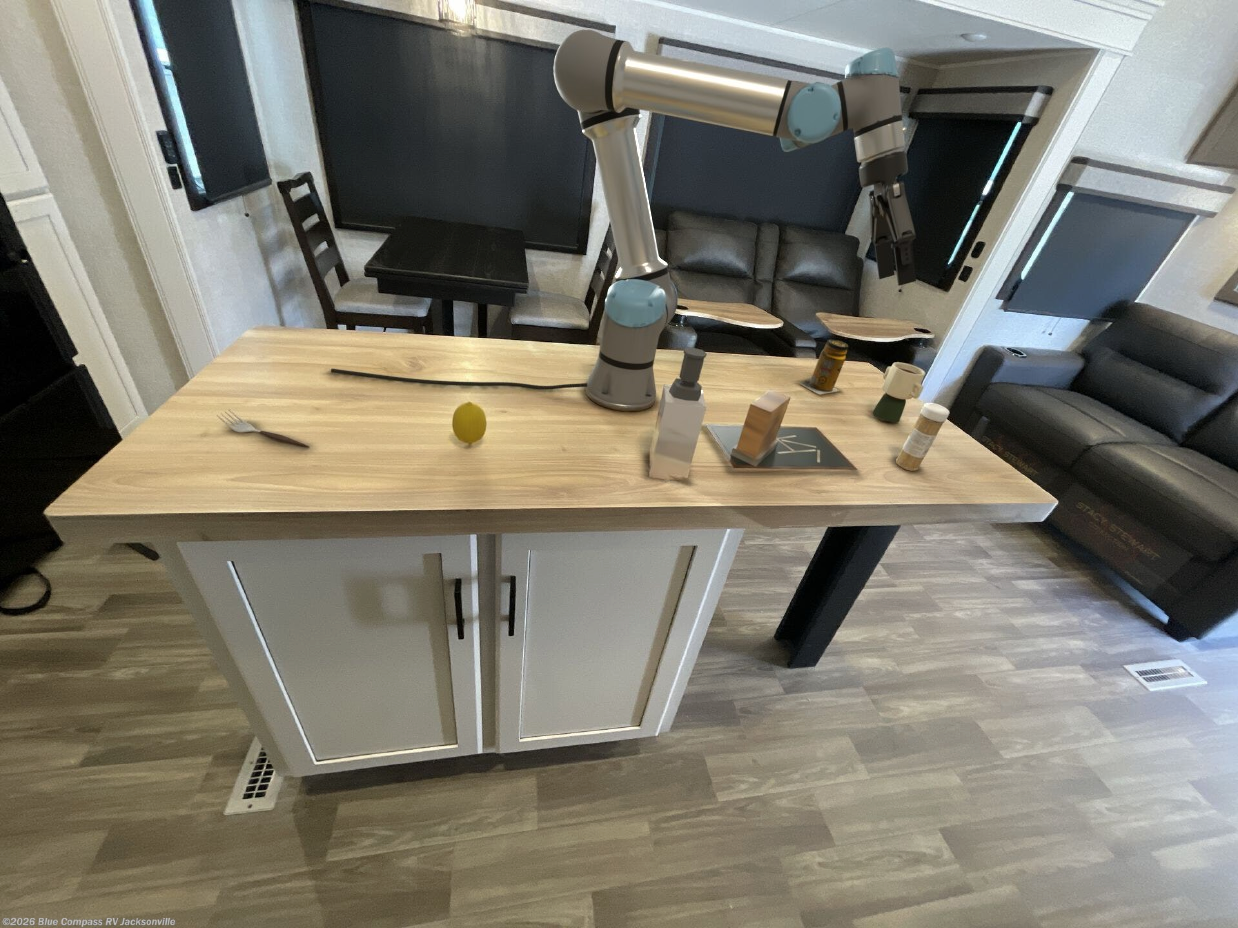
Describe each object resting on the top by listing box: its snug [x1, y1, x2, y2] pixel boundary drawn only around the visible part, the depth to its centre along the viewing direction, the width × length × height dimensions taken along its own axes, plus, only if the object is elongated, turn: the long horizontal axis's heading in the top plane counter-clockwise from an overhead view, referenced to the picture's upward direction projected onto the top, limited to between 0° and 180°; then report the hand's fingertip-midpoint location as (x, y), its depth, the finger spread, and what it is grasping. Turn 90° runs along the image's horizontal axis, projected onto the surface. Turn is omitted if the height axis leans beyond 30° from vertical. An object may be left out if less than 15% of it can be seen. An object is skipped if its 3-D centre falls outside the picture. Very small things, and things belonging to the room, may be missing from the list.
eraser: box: [731, 389, 791, 467], centre depth 98 cm, size 10×5×11 cm, turn 143°
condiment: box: [797, 339, 850, 396], centre depth 134 cm, size 7×8×12 cm
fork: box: [216, 409, 310, 449], centre depth 84 cm, size 3×16×2 cm, turn 73°
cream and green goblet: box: [872, 361, 926, 423], centre depth 123 cm, size 11×7×13 cm, turn 18°
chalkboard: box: [704, 423, 858, 471], centre depth 105 cm, size 26×16×1 cm, turn 101°
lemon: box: [451, 401, 488, 445], centre depth 89 cm, size 6×6×8 cm
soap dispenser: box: [648, 346, 708, 482], centre depth 89 cm, size 6×9×22 cm
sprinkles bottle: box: [895, 402, 950, 472], centre depth 104 cm, size 5×5×14 cm
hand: (896, 280), depth 99 cm, fingers open, 13 cm apart
